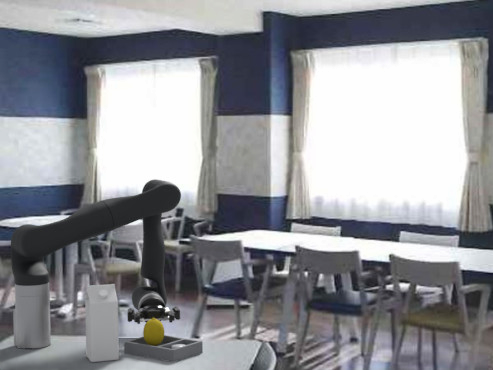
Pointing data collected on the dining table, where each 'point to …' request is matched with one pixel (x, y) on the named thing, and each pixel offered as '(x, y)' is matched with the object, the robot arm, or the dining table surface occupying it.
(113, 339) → the milk carton
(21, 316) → the robot arm
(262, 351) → the dining table surface
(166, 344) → the grey divided tray
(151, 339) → the lemon
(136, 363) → the dining table surface
